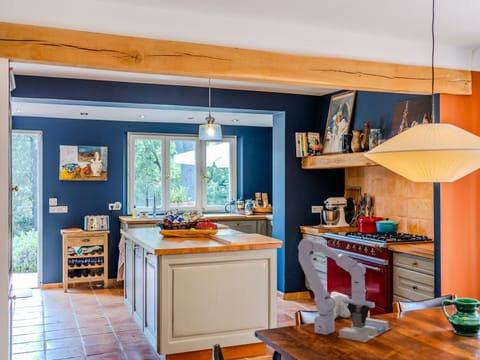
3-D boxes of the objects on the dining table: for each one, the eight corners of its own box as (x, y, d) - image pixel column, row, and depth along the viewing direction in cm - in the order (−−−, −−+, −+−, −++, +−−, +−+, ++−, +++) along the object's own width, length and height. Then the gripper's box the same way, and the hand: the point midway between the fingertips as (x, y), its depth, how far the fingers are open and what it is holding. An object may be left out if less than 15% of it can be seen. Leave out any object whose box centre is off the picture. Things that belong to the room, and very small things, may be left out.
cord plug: (361, 328, 211) (360, 309, 211) (352, 326, 214) (352, 308, 214) (365, 326, 214) (364, 307, 214) (357, 324, 217) (356, 306, 217)
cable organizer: (317, 314, 255) (316, 292, 255) (334, 312, 259) (333, 290, 260) (333, 321, 241) (332, 297, 242) (351, 318, 245) (350, 295, 246)
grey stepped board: (365, 344, 203) (364, 334, 203) (337, 338, 212) (337, 328, 212) (390, 330, 223) (390, 321, 223) (364, 325, 232) (364, 316, 232)
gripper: (377, 291, 213) (378, 322, 212) (347, 287, 222) (348, 317, 222) (370, 294, 207) (371, 326, 207) (340, 290, 217) (341, 320, 216)
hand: (359, 321), depth 214 cm, fingers closed on cord plug, 4 cm apart
